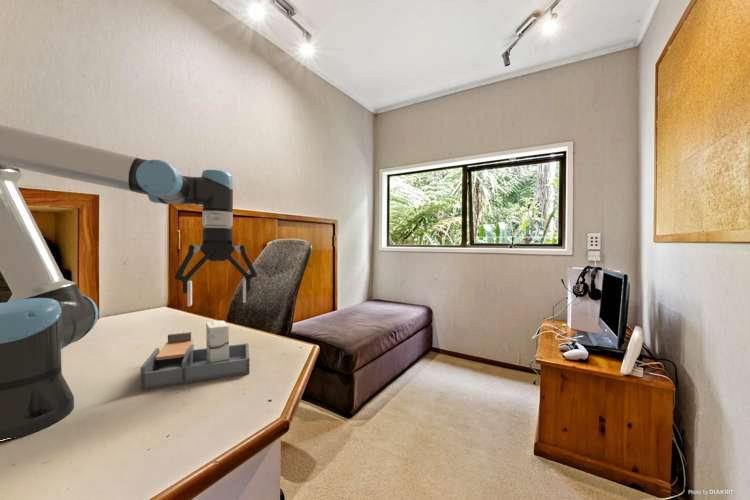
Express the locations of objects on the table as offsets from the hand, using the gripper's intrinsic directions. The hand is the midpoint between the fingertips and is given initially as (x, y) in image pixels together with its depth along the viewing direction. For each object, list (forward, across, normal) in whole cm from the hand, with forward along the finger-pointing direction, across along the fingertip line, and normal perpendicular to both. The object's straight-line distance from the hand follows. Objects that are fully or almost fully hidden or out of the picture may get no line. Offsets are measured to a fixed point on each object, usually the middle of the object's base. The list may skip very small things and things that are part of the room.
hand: (218, 303), depth 85 cm
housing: (+18, -4, 0) cm, 19 cm away
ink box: (+18, 0, 0) cm, 18 cm away
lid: (+14, -11, +8) cm, 20 cm away
